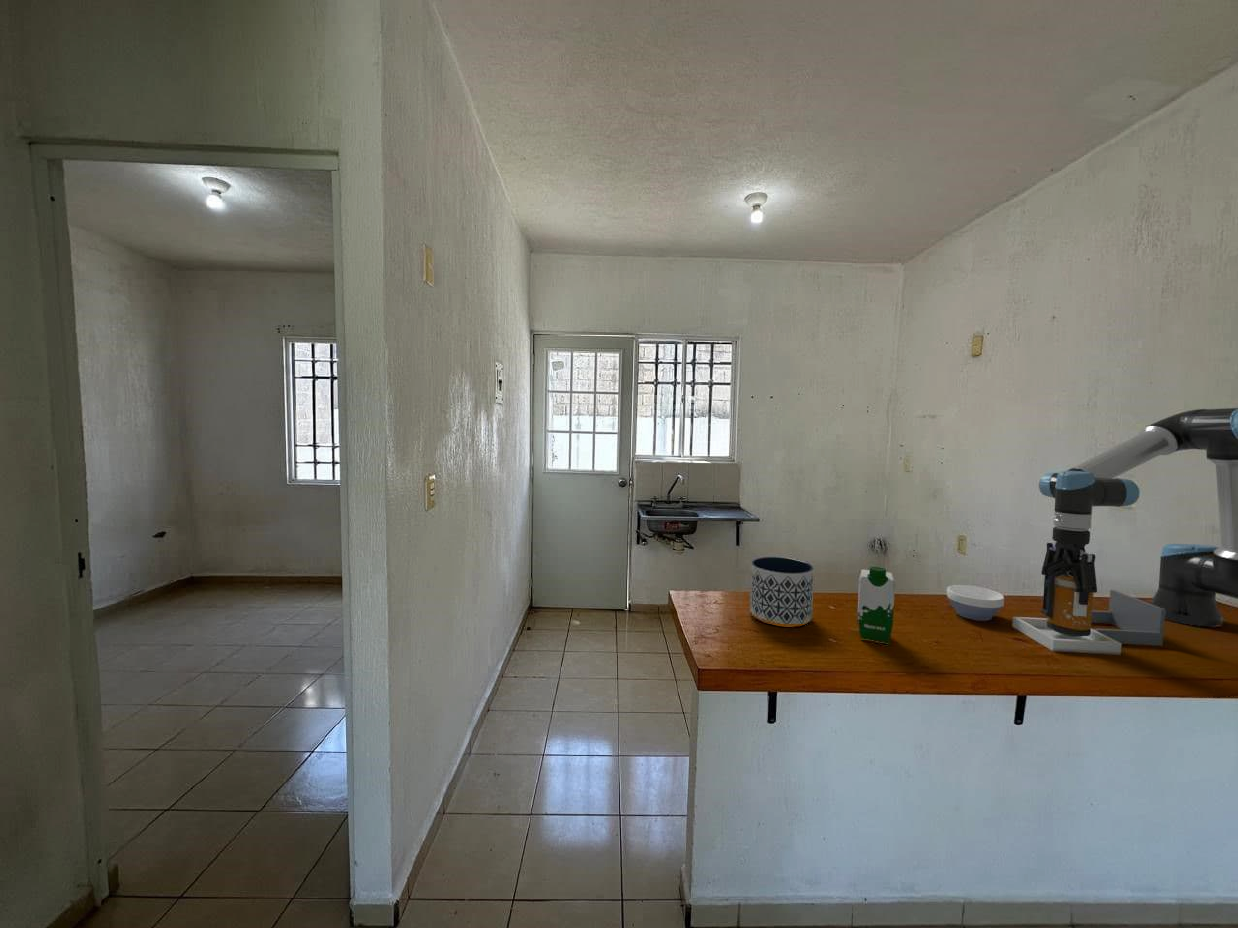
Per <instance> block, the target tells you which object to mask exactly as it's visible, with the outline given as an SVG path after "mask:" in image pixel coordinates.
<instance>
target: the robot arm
mask: <svg viewBox="0 0 1238 928" xmlns="http://www.w3.org/2000/svg"><path fill="white" fill-rule="evenodd" d="M1185 450H1201V451H1202V450H1204V451H1205V454H1206V459H1207V460H1208V461H1210V462H1211V463H1213V464H1215V474H1216V485H1217V486H1216V487H1217V502H1218V504H1217V505H1218V515H1219V517H1218V518H1219V528H1220V544H1221V546H1216V545H1209V544H1208V545H1206V544H1193V543H1190V544H1189V543H1168V544H1165V545H1164V546H1163V547H1162V549H1161V555H1160V560H1159V562H1160V563H1159V574H1158V575H1159V576H1158V577H1159V578H1158V588H1157V591H1156V592H1155V594H1154V596H1153V598H1152V601H1151V602H1148V603H1149V604H1152V605H1155V606H1157V607H1160V608H1163V609H1165V610H1166V612H1165V620H1166V621H1171V622H1173V621H1174V622H1173V623H1178V622H1179V623H1178V624H1182V623H1183V624H1184V625H1187V624H1189V625H1188V626H1193V625H1197V626H1196V627H1200V626H1216V625H1220V624H1222V625H1223V621H1224V619H1223V615H1222V614H1221V611H1220V607H1219V605H1218V602H1217V600H1216V598H1217V597H1216V595H1217V594H1219V595H1222V596H1225V597H1229V598H1233V599H1237V600H1238V407H1228V408H1227V407H1226V408H1225V407H1224V408H1199V409H1197V408H1196V409H1191V410H1186V411H1183V412H1179V413H1177V414H1172V415H1170V416H1168V417H1165V418H1163V419H1160V420H1158V421H1156V422H1154V423H1152V424H1149V425H1147V426H1146V427H1145V426H1144V428H1142V429H1140V431H1139V433H1138V435H1136V436H1133V437H1131V438H1129V439H1128V440H1126V441H1123V442H1122V443H1119V444H1118V445H1116V446H1113V447H1112V448H1110V449H1108V450H1106V451H1103V452H1101V453H1099V454H1097V455H1096V456H1093V457H1091V458H1089V459H1088V460H1085V461H1083V462H1081V463H1080V464H1077V465H1076V466H1073V467H1071V468H1069V469H1067V470H1062V471H1060V472H1048V473H1045V474H1043V476H1041V477H1040V479H1039V481H1038V488H1039V492H1040V493H1041V494H1042V495H1043V496H1045V497H1048V498H1051V499H1052V498H1053V499H1054V514H1053V515H1054V516H1053V525H1054V527H1052V541H1054V542H1047V543H1046V553H1045V556H1044V560H1043V564H1042V567H1044V566H1046V565H1048V564H1050V563H1052V562H1054V561H1056V560H1058V559H1060V560H1061V561H1066V562H1068V565H1069V566H1070V567H1071V569H1072V573H1073V576H1074V580H1075V583H1076V587H1077V590H1074V604H1073V615H1074V616H1086V613H1087V605H1088V600H1089V593H1094V594H1095V593H1097V592H1098V586H1097V576H1096V566H1095V565H1096V564H1095V561H1096V555H1095V554H1093V553H1088V552H1087V551H1086V548H1085V546H1088V545H1089V544H1090V541H1091V540H1090V539H1091V532H1090V530H1089V529H1091V528H1092V519H1093V518H1092V516H1093V515H1092V514H1093V507H1116V508H1120V507H1128V506H1132V505H1134V504H1135V503H1136V502H1137V501H1138V500H1139V498H1140V491H1141V490H1140V488H1139V486H1138V485H1137V483H1135V482H1134V481H1132V480H1131V479H1127V478H1120V477H1119V478H1118V476H1121V475H1123V474H1124V473H1126V472H1129V471H1131V470H1132V469H1134V468H1137V467H1139V466H1141V465H1143V464H1145V463H1147V462H1149V461H1151V460H1153V459H1155V458H1157V457H1159V456H1167V455H1168V456H1170V455H1172V454H1173V453H1176V452H1179V451H1185ZM1078 562H1079V563H1078ZM1042 567H1041V574H1042V575H1043V576H1045V574H1044V571H1043V568H1042ZM1082 586H1083V588H1082ZM1090 587H1091V588H1090ZM1183 624H1182V625H1183Z"/></svg>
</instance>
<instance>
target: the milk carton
mask: <svg viewBox="0 0 1238 928" xmlns="http://www.w3.org/2000/svg"><path fill="white" fill-rule="evenodd" d="M895 586H896V584H895V580H894V575H893V574H892V572H890V571H889V572H887V569H886V568H883V567H880V566H879V567H878V566H877V567H876V566H871V567H869V569H861V571H860V576H859V580H858V596H857V598H858V599H857V623H858V630H859V637H860V638H863V639H869V640H874V641H879V642H885V643H889V644H890V642H891V636H892V633H893V632H892V631H893V627H894V625H893V624H894V612H895V611H894V610H895V608H894V606H895Z"/></svg>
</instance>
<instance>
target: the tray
mask: <svg viewBox="0 0 1238 928" xmlns="http://www.w3.org/2000/svg"><path fill="white" fill-rule="evenodd" d="M1047 621H1048V620H1047V617H1045V618H1043V617H1025V616H1024V617H1023V616H1012V628H1014V629H1015V630H1017V631H1019V632H1021V633H1022V634H1024V635H1025V636H1027V637H1029V638H1030V639H1032V640H1034V641H1035V642H1037V643H1039V644H1040V645H1042V646H1044V647H1046V648H1047V649H1048V650H1050V651H1052V652H1063V653H1065V652H1066V653H1079V654H1080V653H1084V654H1085V653H1086V654H1096V655H1097V654H1100V655H1101V654H1102V655H1114V656H1115V655H1117V656H1121V654H1122V645H1123V644H1122V643H1119V642H1117V641H1115V640H1113V639H1111V638H1109V637H1107V636H1105V635H1103V634H1101V633H1099V632H1097V631H1095V630H1094V629H1093V628H1091V629H1090V630H1091V634H1090V635H1089V636H1082V637H1074V636H1068V635H1064V634H1060V633H1058V632H1056V631H1054V630H1052V629H1050V628H1049V627H1047Z"/></svg>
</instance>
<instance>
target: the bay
mask: <svg viewBox="0 0 1238 928" xmlns="http://www.w3.org/2000/svg"><path fill="white" fill-rule="evenodd" d="M1149 603H1150V602H1147V601H1143V600H1141V599H1139V598H1135V597H1133V596H1131V595H1128V594H1126V593H1123V592H1121V591H1118V590H1114V589H1110V591H1109V605H1108V610H1097V609H1096V610H1093V609H1092V621H1091V624H1094V623H1095V624H1110V625H1113V626H1114V627H1117V628H1120V629H1114V628H1113V629H1111V628H1094V629H1093V630H1095V631H1097V632H1099V633H1101V634H1103V635H1105V636H1107V637H1109V638H1111V639H1113V640H1115V641H1117V642H1119V643H1122V645H1125V644H1126V645H1137V646H1138V645H1140V646H1141V645H1142V646H1163V645H1164V635H1165V633H1164V631H1165V622H1166V621H1165V620H1166V619H1165V612H1166V610H1165V609H1163V608H1160V607H1157V606H1155V605H1152V604H1149Z"/></svg>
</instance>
